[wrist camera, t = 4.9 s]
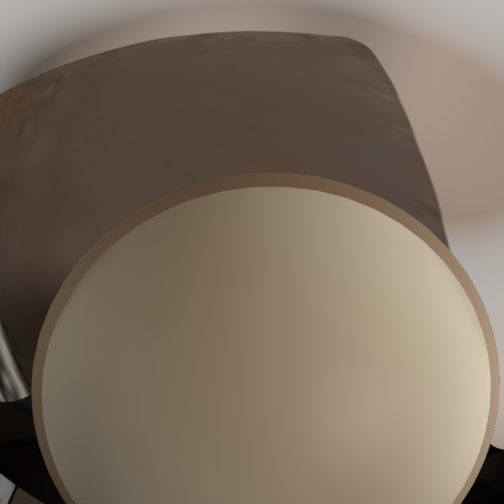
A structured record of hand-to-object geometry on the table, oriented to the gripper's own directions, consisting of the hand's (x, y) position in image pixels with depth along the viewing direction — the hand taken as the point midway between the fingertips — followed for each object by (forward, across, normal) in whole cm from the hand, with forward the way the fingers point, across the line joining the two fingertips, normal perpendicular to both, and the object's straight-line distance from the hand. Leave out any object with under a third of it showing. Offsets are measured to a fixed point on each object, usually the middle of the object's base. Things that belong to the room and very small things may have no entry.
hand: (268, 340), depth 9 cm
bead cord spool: (+4, 0, +6) cm, 7 cm away
